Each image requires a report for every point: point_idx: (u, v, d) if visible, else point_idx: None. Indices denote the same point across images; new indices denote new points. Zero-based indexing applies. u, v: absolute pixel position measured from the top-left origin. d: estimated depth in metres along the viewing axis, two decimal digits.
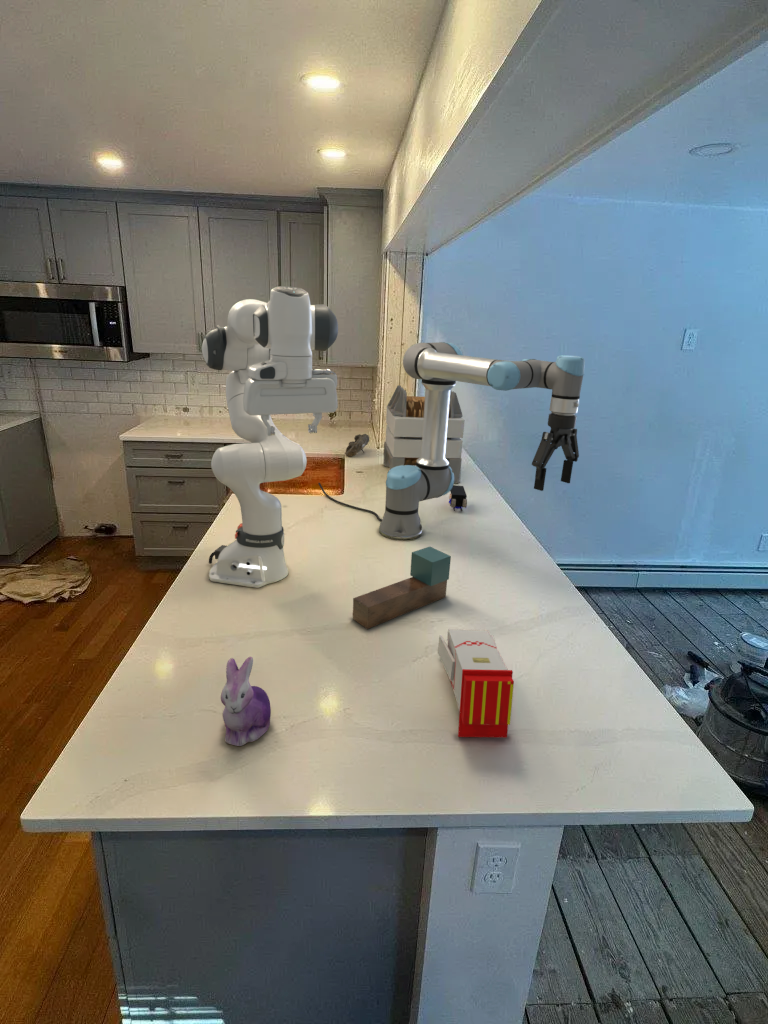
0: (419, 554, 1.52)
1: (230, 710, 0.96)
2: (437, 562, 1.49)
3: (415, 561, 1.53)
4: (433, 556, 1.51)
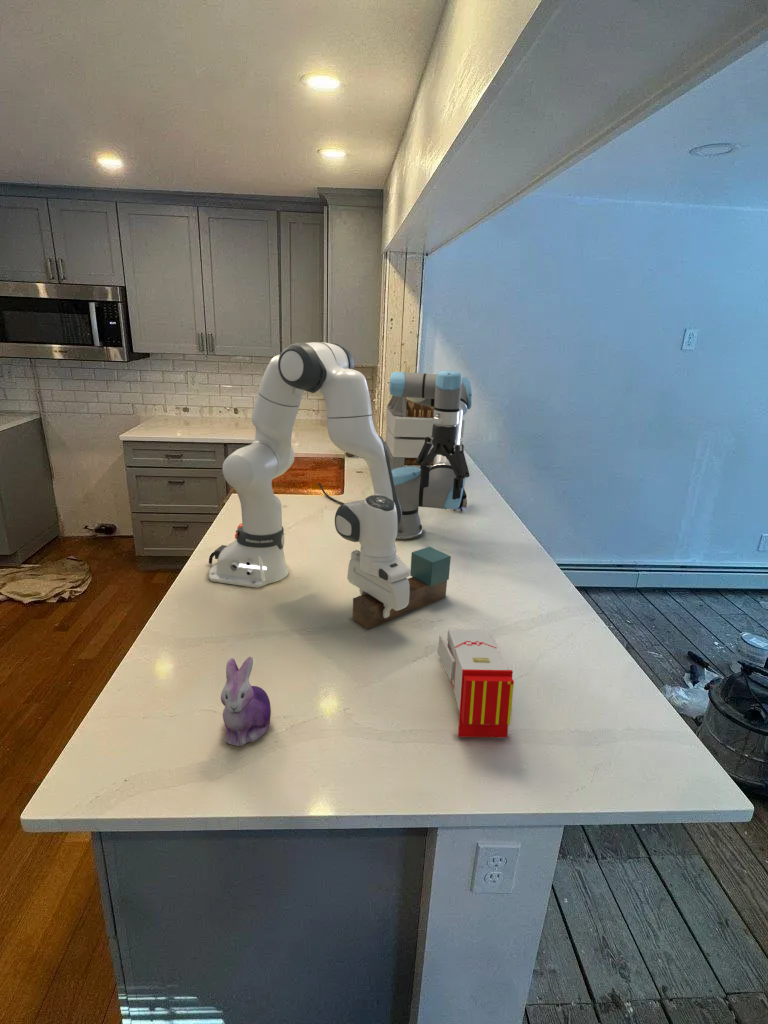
0: (419, 554, 1.52)
1: (230, 710, 0.96)
2: (437, 562, 1.49)
3: (415, 561, 1.53)
4: (433, 556, 1.51)
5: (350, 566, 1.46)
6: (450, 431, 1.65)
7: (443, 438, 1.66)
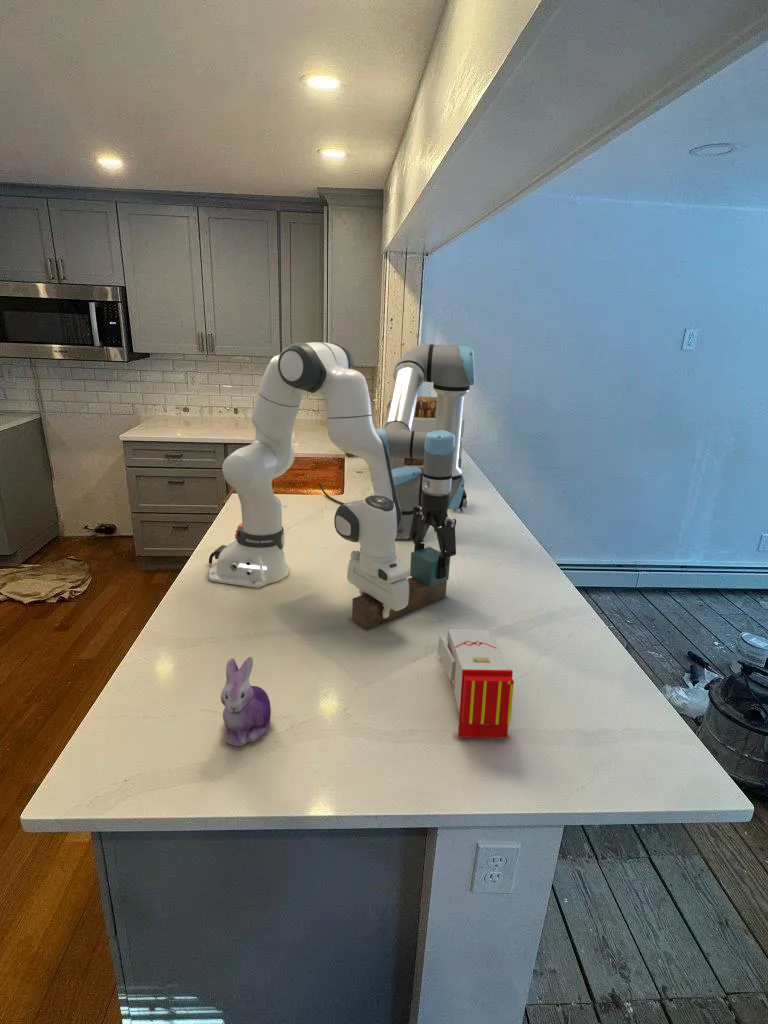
0: (418, 554, 1.52)
1: (230, 710, 0.96)
2: (437, 562, 1.49)
3: (414, 561, 1.53)
4: (432, 557, 1.51)
5: (350, 566, 1.46)
6: (442, 501, 1.44)
7: (433, 509, 1.44)
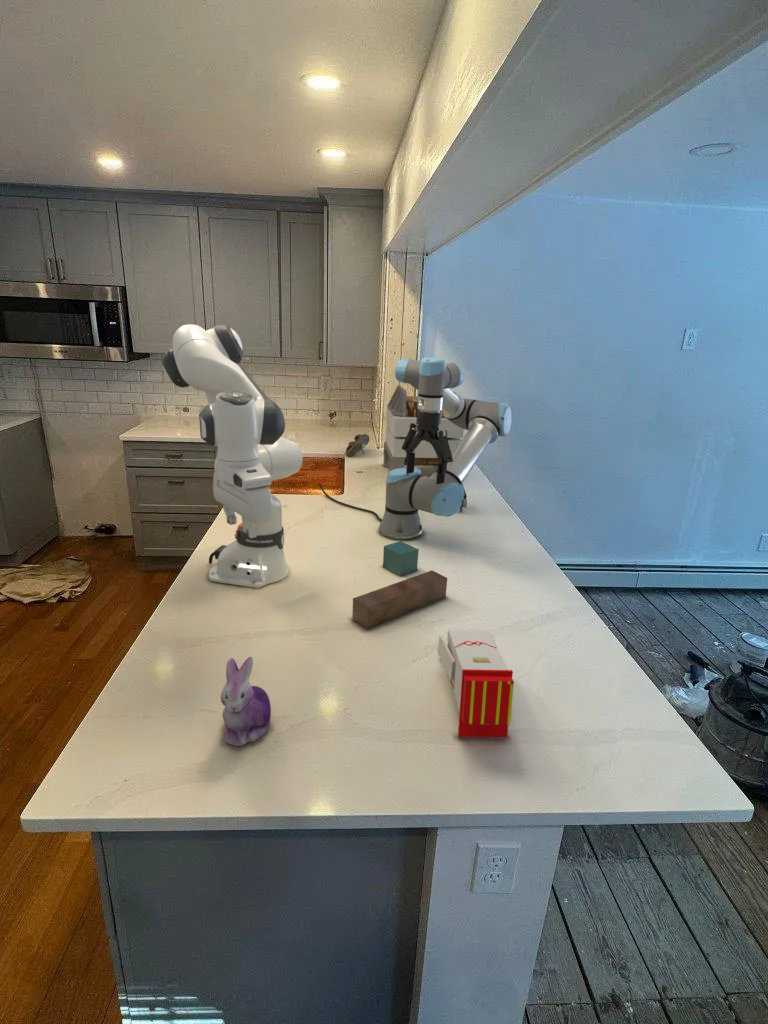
0: (390, 547, 1.70)
1: (230, 710, 0.96)
2: (406, 554, 1.67)
3: (387, 554, 1.71)
4: (402, 549, 1.69)
5: (214, 480, 1.27)
6: (434, 417, 1.69)
7: (427, 424, 1.70)
